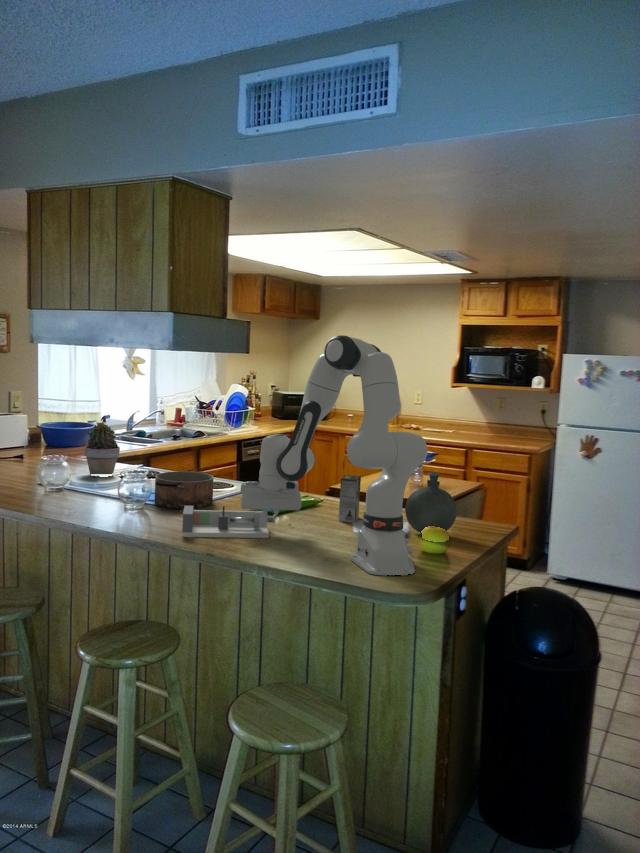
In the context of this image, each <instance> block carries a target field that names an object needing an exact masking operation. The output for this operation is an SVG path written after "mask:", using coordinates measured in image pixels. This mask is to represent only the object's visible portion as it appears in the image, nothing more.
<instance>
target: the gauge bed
mask: <svg viewBox="0 0 640 853" xmlns="http://www.w3.org/2000/svg"><path fill="white" fill-rule="evenodd" d="M193 507H194V506H184V509H183V511H182V533H181V534H182V535H181V537H182V538H185V537H186V538H236V539H237V538H240V539H241V538H244V539H245V538H248V539H249V538H250V539H256V538H257V539H268V538H270V532H269V528H268V523H266V517H265V515H264V513H263V510H257V511H258V512H259V530H254V526H253V522H230V517H244V518H254V511H255V510H251V511H250V510H225V511H224V513H228V529H218V520H219V513H223V510H210V509H209V510H207V509H206V510H204V509H202V510H199V509H193ZM266 514H267V515H268V512H267V513H266Z"/></svg>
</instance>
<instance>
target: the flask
mask: <svg viewBox="0 0 640 853" xmlns="http://www.w3.org/2000/svg"><path fill="white" fill-rule="evenodd" d="M427 475H428V476H429V479H427V480H426V484H427V486H424V487H420V488H418V489H416V490H414V491H412V493H411V494H409V496H408V498H407V500H406V503H405V512H404V513H405V517H406V520H407V522H408V524H409V525H410V527H411V528H413V530H415V531H416V532H417V533H420V534H422V533H421V531H422V530H423V529H424V528H425V527H428V526H435V527H440V528H443V529H445V530H446V532H447V531H449V529H451V528H452V526H454V524H455V521H456V519H457V513H458V512H457V511H458V509H457V503H456V501H455V499H454V497H453V495H452V494H450V493H449V492H448V491H446V490H445V489H443V488H440V483H441V482H440V481H439V480H438V479H439V478H440V476H441V474H440V473H438V472H435V471H434V472H433V471H431V472H427Z"/></svg>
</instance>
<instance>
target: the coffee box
mask: <svg viewBox="0 0 640 853" xmlns="http://www.w3.org/2000/svg"><path fill="white" fill-rule="evenodd" d="M361 480H362V476H361V475H349V474H345V475H343V476H342V478H340V486H339V487H340V490H339V506H338V507H339V509H338V522H342V523H353V522H355V521H357V520H358V519H359V514H360V501H361V500H360V497H361ZM355 523H356V522H355Z"/></svg>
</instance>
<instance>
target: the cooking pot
mask: <svg viewBox="0 0 640 853" xmlns="http://www.w3.org/2000/svg"><path fill="white" fill-rule="evenodd" d="M154 476H155V477H154V478H155V479H154V503H155V505H156V506H158V507H162V508H165V509H171V510H172V509H173V510H184V506H194V507H193V510H199V509H204V508H208V507H210V506H212V504H213V500H214V499H213V498H214V476H213V474H211V473H210V472H205V471H184V470H182V471H180V470H178V471H177V470H175V471H165V472H160V473H157V474H156V475H154Z"/></svg>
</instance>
